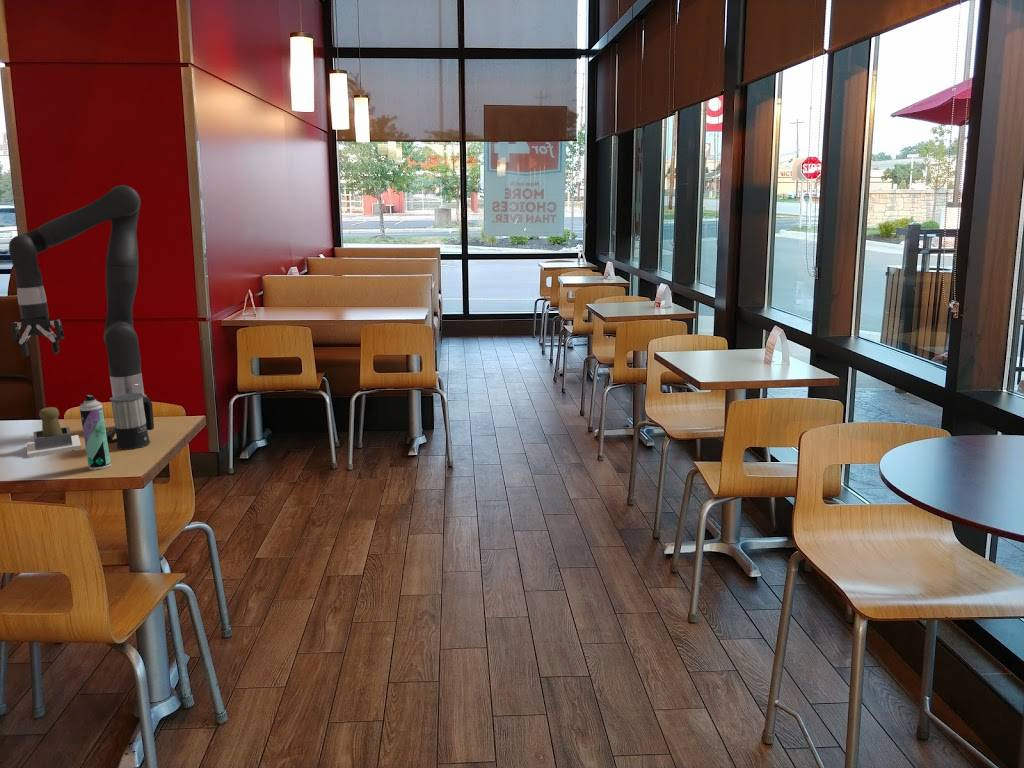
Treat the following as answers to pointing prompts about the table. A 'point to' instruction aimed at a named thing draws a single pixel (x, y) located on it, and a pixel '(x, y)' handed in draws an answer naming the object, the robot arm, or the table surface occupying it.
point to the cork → (50, 421)
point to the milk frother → (131, 421)
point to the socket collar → (52, 439)
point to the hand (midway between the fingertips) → (41, 355)
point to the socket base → (32, 451)
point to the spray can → (94, 434)
